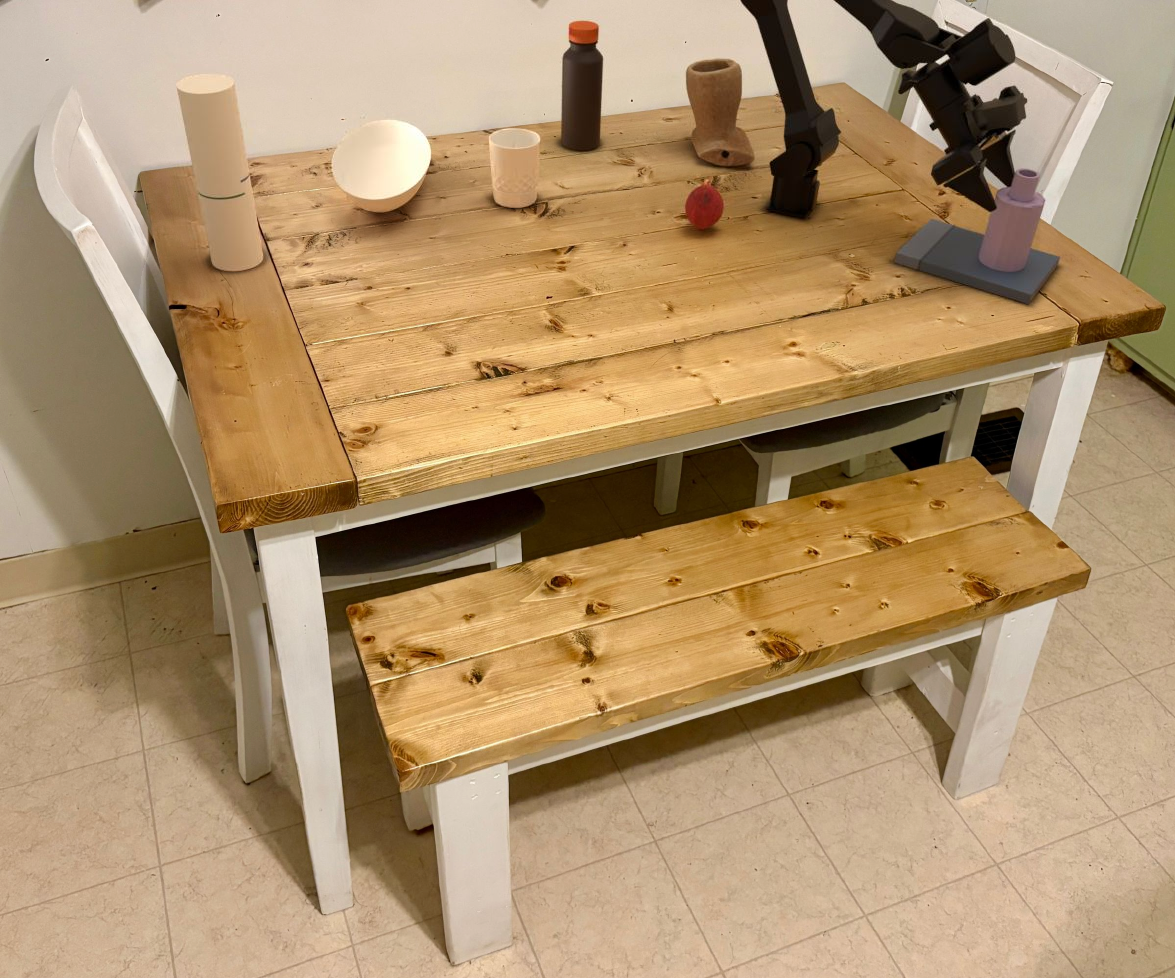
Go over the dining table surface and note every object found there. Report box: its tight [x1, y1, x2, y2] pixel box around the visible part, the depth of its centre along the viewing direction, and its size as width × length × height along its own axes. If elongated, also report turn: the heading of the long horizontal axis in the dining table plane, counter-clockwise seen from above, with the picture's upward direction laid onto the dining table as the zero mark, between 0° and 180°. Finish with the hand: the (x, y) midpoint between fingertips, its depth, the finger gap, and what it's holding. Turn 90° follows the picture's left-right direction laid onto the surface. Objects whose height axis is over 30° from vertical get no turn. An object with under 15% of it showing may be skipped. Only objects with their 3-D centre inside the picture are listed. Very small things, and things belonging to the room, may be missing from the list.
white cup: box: [488, 127, 541, 209], centre depth 175 cm, size 8×8×10 cm
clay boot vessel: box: [685, 58, 756, 167], centre depth 190 cm, size 15×12×15 cm
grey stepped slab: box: [894, 218, 1061, 305], centre depth 166 cm, size 20×14×2 cm
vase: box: [979, 168, 1046, 272], centre depth 160 cm, size 7×7×14 cm
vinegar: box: [560, 20, 604, 152], centre depth 189 cm, size 7×7×20 cm
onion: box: [684, 178, 725, 231], centre depth 169 cm, size 6×6×8 cm
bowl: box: [331, 119, 432, 213], centre depth 176 cm, size 30×15×6 cm, turn 4°
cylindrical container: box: [175, 73, 264, 272], centre depth 152 cm, size 7×7×25 cm
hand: (1004, 199), depth 159 cm, fingers open, 9 cm apart
